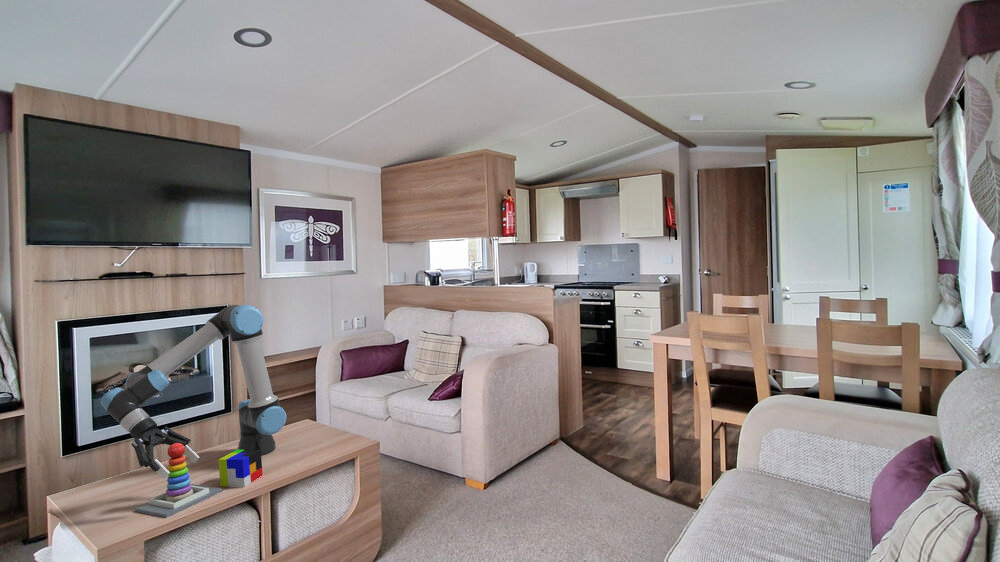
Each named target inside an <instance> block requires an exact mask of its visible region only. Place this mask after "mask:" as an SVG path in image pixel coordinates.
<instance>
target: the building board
mask: <svg viewBox="0 0 1000 562" xmlns="http://www.w3.org/2000/svg"><path fill="white" fill-rule="evenodd" d="M190 484H191V486H192V488H191V489H192V490H193V494H192V495H191V496H189V497H186V498H184V499H182V500H180V501H177V502H169V501H167V500H166V496H167V494H166V492H164V493H161V494H159V495H157V496H154V497H152V498H149V499H148V502H147V503H143V504H142V505H139V506H137V507H135V508H134V512H137V513H141V514H146V515H151V516H156V517H157V516H158V517H160V518H166V519H168V518H169V517H171V516H173V515H175V514H178V513H179V512H182V511H185V510H186V509H188V508H190V507H192V505H193V506H194V505H196V504H199V503H201V502H202V501H205V500H207V499H210V498H212V497H214V496H215V494H216V495H217V493H218V494H219V493H222V492H223V488H220V487H215V486H207V485H203V484H202V485H201V484H197V483H195V484H194V483H190ZM213 495H214V496H213ZM211 496H212V497H211Z"/></svg>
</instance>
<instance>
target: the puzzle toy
mask: <svg viewBox="0 0 1000 562" xmlns="http://www.w3.org/2000/svg"><path fill="white" fill-rule="evenodd" d="M218 470H219V471H218V472H219V483H220V487H221V486H235V487H234V488H245V486H246V485H247V486H249V485H250V484H252V483H253V482H252V481H254V480H255V481H257V480H258V479H260V478H261V477H260V476H262V475H264V473H263V463H262V455H261V450H237V449H236V450H234V451H232V452H230V453H228V454H226V455H224V456H222V457H220V458H218ZM259 477H260V478H259ZM262 477H263V476H262ZM257 478H258V479H257ZM256 479H257V480H256ZM255 481H254V482H255ZM251 482H252V483H251ZM249 483H250V484H249ZM248 484H249V485H248ZM236 486H238V487H236ZM242 486H243V487H242ZM247 486H246V487H247Z"/></svg>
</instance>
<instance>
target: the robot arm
mask: <svg viewBox="0 0 1000 562" xmlns="http://www.w3.org/2000/svg"><path fill="white" fill-rule="evenodd" d="M263 325H264V316H263V314H262V312H261V310H259V308H257V307H255V306H252V305H250V304H231V305H229V306H227V307H225V308H223V309H222V310H220V311H219V312H217V313H216V314H215V315H213V316H212V317H211V318H209V319H208V320H207V321H206V322H205V325H204V326H202V327H201V328H199V329H198V330H197V331H195V332H193V333H192V334H191V335H190V336H188V337H186V338H185V339H184V340H182V341H180V342H179V343H177V344H176V345H174V347H172V348H170V349H169V350H168V351H166V352H164V353H163V354H162V355H160V356H158V357H157V358H156V359H154V360H153V361H151V362H150V363H148V364H147V365H146V366H144V367H143V368H141V369H140V370H138V371H135V372H131V373H130V374H129V375H128V376H127V377H126V380H125V384H126V385H125V386H126V387H127V388H125V389H123V388H121V387H115V388H113V389H110V390H108V391H107V392H106V393H104V395H103V396H102V397H101V398H100V405H101V406H102V407H103V408H104V410H106V412H107V413H108V414H109V415H110V416H112V418H113V419H114V420H115V421H116V422H118V423H119V425H120V426H122V427H123V428H124V430H126V431H127V433H129V435H130V436H131V438H133V439H134V440H133V441H132V443H131V446H132V447H133V449H134V451H135V454H136V459H137V461H138V464H139V467H144V468H150V469H151V470H152V471H153V472H154V473H155V472H156V473H157V474H158V475H159V476H160V477H161V478H162V479H163V480H165V479H166V478H168V477H169V476H168V474H169V473H170V472H169V470H168V468H166V467H165V466H164V464H162V463H161V462H160V461H159V460H158V459H157V458H156V459H155V457H154V456H155V455H154V453H155V452H154V448H155V447H156V446H160V445H167V446H169V447H170V446H171V445H172V444H174V443H181V444H183V445H184V447H185V452H184V454H183V455H184V456H185V457H187V458H188V459H189V460H190V461H191V462H192V463H193V464H195V463H197V462H198V461H199V459H200V456H199V455H198V454H197V453H196V452H195V450H194V449H193V448H192V447H191V446H190V445H189V444H190V443H191V438H188V437H187V436H184V435H182V434H180V433H178V432H176V431H173V430H172V429H170V427H168V426H164V428H163V429H159V427H158V423H157V422H156V421H155V420H154V419H153V418H152V417H150V414H148V413H147V412H146V411H145V410H144V409H143V408H142V407H141V406H142V405H143V404H144V403H146V402H147V401H148V400H150V399H152V398H153V397H155V396H156V395H157V394H159V393H161V392H162V391H163V390H164V389H165V388H167V387H168V386H169V384H170V380H169V379H168V378H167V377H168V376H169V375H170V374H172V373H173V372H174V371H176V370H177V369H179V368H181V366H183V365H184V364H186V363H188V362H189V361H191V359H193V358H194V357H196V356H197V355H198V354H200V353H201V352H203V351H204V350H206V349H207V348H208V347H210V346H212V344H214V343H215V342H217V341H218V340H220V341H221V340H224V339H225V338H227V337H228V336H230V340H231V343H232V344H234V345H236V346H237V349H238V354H239V358H240V363H241V368H242V372H243V375H244V380H245V382H246V388H247V391H248V395H249V398H248V399H244V400H242V401H240V402H239V403H238V404H237V405H238V407H237V412H238V420H239V422H238V423H239V431H240V432H239V433H240V438H239V442H238V447H237V449H236V450H261V456H264V455H267V454H270V453H271V452H274V451H275V450H276V449H275V448H277V446H276V445H277V444H276V441H275V439H274V437H273V435H274V434H277V433H278V432H280V431H281V430H282V429H283V428H284V426H285V425H286V422H287V413H286V411H285V410H284V408H283V407H282V406H280V401H279V397H278V396H277V395H275V394H274V392H273V389H272V385H271V380H270V376H269V372H268V369H267V364H266V359H265V356H264V351H263V348H262V347H263V346H262V343H261V338H262V337H263V335H264V334H263V333H264V332H263V330H262V327H263ZM273 450H274V451H273Z"/></svg>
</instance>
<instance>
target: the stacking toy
mask: <svg viewBox="0 0 1000 562" xmlns="http://www.w3.org/2000/svg"><path fill="white" fill-rule="evenodd" d="M184 452H185V447H184V445H183V444H181V443H174V444H172V445H171V446H170V445H169V447H168V448H167V455H168V457H169V459H168V466H167V470H168V471H169V472H170V473H169V474H168V476H167V479H166V482H167V484H166V488H167V489H166V490H165V493H166V494H167V496H166V500H167V501H169V502H177V501H180V500H182V499H184V498H186V497H189V496H191V495H192V494H193V490H192V489H191V488H192V486H191V484H192V483H191V478H190V476H191V475H190V473H189V468H188V467H187V462H186V455H185V454H184Z"/></svg>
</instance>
